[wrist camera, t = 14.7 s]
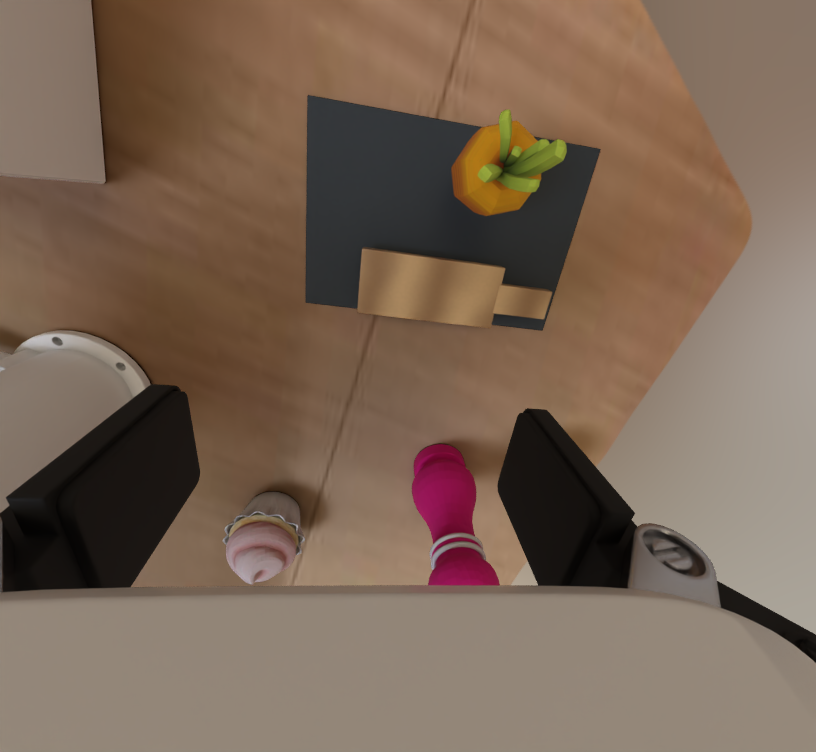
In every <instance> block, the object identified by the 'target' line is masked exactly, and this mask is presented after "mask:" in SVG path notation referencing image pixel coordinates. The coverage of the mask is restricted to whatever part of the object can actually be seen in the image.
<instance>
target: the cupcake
mask: <svg viewBox="0 0 816 752" xmlns="http://www.w3.org/2000/svg"><path fill="white" fill-rule="evenodd" d="M225 532H226V533H227V536H226V537H225V538H224V539H223V542H224V543H225V544H226V545H227V546H226V557H227V561H228V563H229V565H230V567H231V568H232V570H233V571H234V572H235V573H236V574H237V575H239V576H240V578H241V579H242V580H244V581H245V582H247V583H249V584H253V583H254V582H262V581H265V580H268V579H270V578H271V577H273V576H275V575H276V574H278V573H279V572H281V571H283V570H285V569H286V568H287V567H289V566H290V565H291V563H292V562H293V561H294V558H295V556H296V555H298V554H300V553H302V550H301V545H300V544H301V543H302V542H304V540H305V537H304V535H303V532H302V530H301V526H300V509H299V506H298V504H297V502H296V501H295V500H294V499H293V498H292V497H290V496H288V495H286V494H284V493H280V492H265V493H262V494H260V495H258V496H256V497H255V498H253V499H252V501H251V502H250V503H249V504H248V506H247V507H246V508H245V509H244V510H243V511H242V512H241V514H240V515H238V516H237V517H236V518H235V519H234V520H233V521H232V522H231V523H230V524H228V525H227V526H226V527H225Z"/></svg>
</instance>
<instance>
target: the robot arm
mask: <svg viewBox="0 0 816 752" xmlns="http://www.w3.org/2000/svg"><path fill="white" fill-rule="evenodd" d="M199 477H200V468H199V462H198V456H197V450H196V444H195V438H194V432H193V426H192V421H191V415H190V409H189V403H188V397H187V394H186V393H185V392H181V390H180V389H179V387H177V386H171V385H156V384H150V381H149V380H148V378H147V376H146V375H145V373H144V371H143V370H142V369H141V368H140V367H139V366H138V364H137V363H136V362H135V361H134V360H133V359H132V358H131V357H129V356H128V355H127V354H126V353H125V352H124V351H122V350H121V349H119V348H118V347H116V346H115V345H113V344H111V343H109V342H107V341H105V340H103V339H101V338H99V337H96V336H93V335H90V334H87V333H82V332H77V331H67V330H57V331H51V332H45V333H43V334H40V335H37V336H34V337H32V338H30V339H28V340H26V341H25V342H23V343H22V344H21V345H20V346H19V347H18V348H17V349H16V350H15V352H14V354H13V355H12V354H9V353H6V352H3V351H0V752H816V635H815V634H814V633H812V632H810V631H808V630H806V629H804V628H803V627H801V626H799V625H797V624H795V623H793V622H792V621H790V620H788V619H786V618H784V617H782V616H781V615H779V614H777V613H775V612H773V611H771V610H770V609H768V608H766V607H764V606H762V605H760V604H759V603H756V602H755V601H753V600H751V599H749V598H748V597H746V596H744V595H742V594H740V593H738V592H736V591H735V590H733V589H731V588H729V587H727V586H726V585H724V584H722V583H720V582H718V581H717V579H716V572H715V569H714V567H713V564H712V562H711V561H710V559H709V558H708V557H707V555H706V554H705V553H704V552H703V551H702V550H701V549H700V548H699V547H698V546H697V545H696V544H694V543H693V542H692V541H690V540H689V539H687V538H686V537H685V536H683V535H681V534H679V533H678V532H676V531H674V530H672V529H669V528H667V527H664V526H661V525H657V524H651V523H649V524H641V525H640V526H638V527H637V526H636V525H635V524H634V522H633V521H632V520H631V519H632V518H633V516H634V514H635V513H634V511H633V510H632V509H631V508H630V507H629V506H628V504H627V503H626V502H625V501H624V500H623V499H622V497H621V496H620V495H619V494H618V493H617V492H616V490H615V489H614V488H613V487H612V486H611V484H610V483H609V482H608V481H607V480H606V479H605V477H604V476H603V475H602V474H601V473H600V472H599V470H598V469H597V468H596V467H595V466H594V465H593V463H592V462H591V461H590V460H589V459H588V458H587V456H586V455H585V454H584V453H583V452H582V450H581V449H580V448H579V447H578V446H577V445H576V443H575V442H574V441H573V440H572V439H571V438H570V436H569V435H568V434H567V433H566V432H565V431H564V429H563V428H562V427H561V426H560V425H559V424H558V422H557V421H556V420H555V419H554V418H553V416H552V415H551V414H550V413H549V412H548V411H547V410H542V409H526V410H525V411H524V412H523V413H520V414H519V415H518V417H517V420H516V423H515V427H514V430H513V433H512V437H511V440H510V443H509V447H508V450H507V453H506V457H505V460H504V463H503V467H502V470H501V473H500V477H499V480H498V493H499V495H500V498H501V500H502V502H503V505H504V507H505V509H506V512H507V514H508V516H509V519H510V521H511V523H512V525H513V528H514V530H515V532H516V535H517V537H518V539H519V542H520V544H521V546H522V549H523V551H524V553H525V555H526V558H527V560H528V562H529V565H530V567H531V569H532V571H533V574H534V576H535V579H536V581H537V583H538V586H510V585H372V586H217V587H131V585H132V584H133V582H134V581H135V579H136V578H137V576H138V575H139V573H140V571H141V570H142V568H143V567H144V565H145V564H146V562H147V561H148V559H149V558H150V556H151V554H152V553H153V551H154V550H155V548H156V547H157V545H158V544H159V542H160V541H161V539H162V538H163V536H164V534H165V533H166V531H167V530H168V528H169V527H170V525H171V524H172V522H173V521H174V519H175V517H176V516H177V514H178V513H179V511H180V510H181V508H182V507H183V505H184V504H185V502H186V501H187V499H188V497H189V496H190V494H191V493H192V491H193V490H194V488H195V487H196V485H197V483H198V481H199Z"/></svg>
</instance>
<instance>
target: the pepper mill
mask: <svg viewBox="0 0 816 752" xmlns="http://www.w3.org/2000/svg"><path fill="white" fill-rule="evenodd" d="M414 474H415V478H414V481H413V484H412V494H413V499H414V503H415V505H416V507H417V510H418V511H419V513H420V514H421V516H422V517H423V519H424V520H425V521H426V523H427V525H428V526H429V529H430V531H431V535H432V539H433V545H432V547H431V549H430V559H431V568H432V570H433V571H432V573H431V575H430V578H429V583H428V585H500V584H499V580H498V577H497V575H496V572H495V571H494V569H493V568H492V566H491V565H490V564H489V563H488V562H487V561H486V556H485V553H484V551H483V545H482V543H481V541H480V540H479V539H478V538H476V537H475V535H474V531H473V524H472V516H473V511H474V507H475V502H476V486H475V481H474V478H473V476H472V474H471V473H470V471H469V470H468V469H467V468H466V466H465V463H464V460H463V457H462V455H461V453H460V452H459V451H458V450H457V449H456V448H454V447H452V446H449V445H444V444H437V445H432V446H429V447H427V448H425V449H424V450H422V451H421V452H420V453H419V454H418V455H417V457H416V458H415V461H414Z"/></svg>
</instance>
